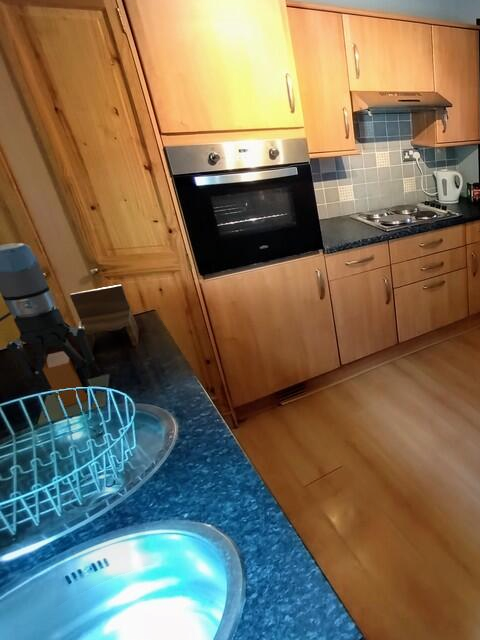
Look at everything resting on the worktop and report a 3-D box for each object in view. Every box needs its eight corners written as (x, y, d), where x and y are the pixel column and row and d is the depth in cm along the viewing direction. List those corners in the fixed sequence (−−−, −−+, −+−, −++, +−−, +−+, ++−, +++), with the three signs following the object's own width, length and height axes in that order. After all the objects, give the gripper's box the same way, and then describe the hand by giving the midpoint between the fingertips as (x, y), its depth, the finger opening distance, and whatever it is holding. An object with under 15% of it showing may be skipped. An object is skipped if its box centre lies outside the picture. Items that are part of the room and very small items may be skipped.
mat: (49, 391, 116) (48, 389, 116) (109, 375, 123) (108, 373, 122) (38, 425, 104) (37, 423, 104) (105, 406, 111) (104, 404, 111)
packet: (65, 391, 115) (47, 354, 110) (88, 385, 117) (72, 348, 113) (61, 407, 109) (42, 369, 105) (85, 400, 111) (68, 363, 107)
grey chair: (90, 340, 140) (69, 293, 134) (138, 329, 147) (121, 284, 140) (86, 357, 131) (64, 308, 125) (138, 344, 138) (119, 297, 131)
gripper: (-25, 327, 96) (22, 415, 105) (83, 306, 106) (118, 388, 115) (-16, 315, 102) (28, 399, 111) (87, 295, 111) (120, 374, 120)
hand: (74, 393), depth 113 cm, fingers closed on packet, 4 cm apart
